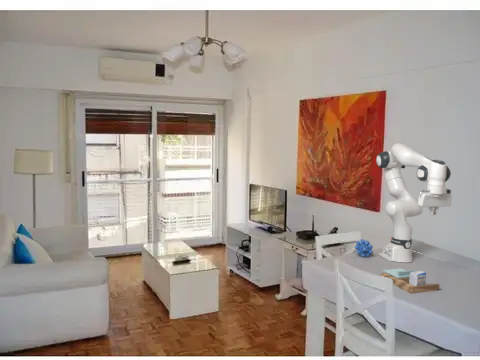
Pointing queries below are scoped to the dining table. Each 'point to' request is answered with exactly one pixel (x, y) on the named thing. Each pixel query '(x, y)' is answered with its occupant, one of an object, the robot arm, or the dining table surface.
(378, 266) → the dining table surface
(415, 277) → the medicine box
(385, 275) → the puzzle board
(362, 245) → the grapes
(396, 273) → the lid
